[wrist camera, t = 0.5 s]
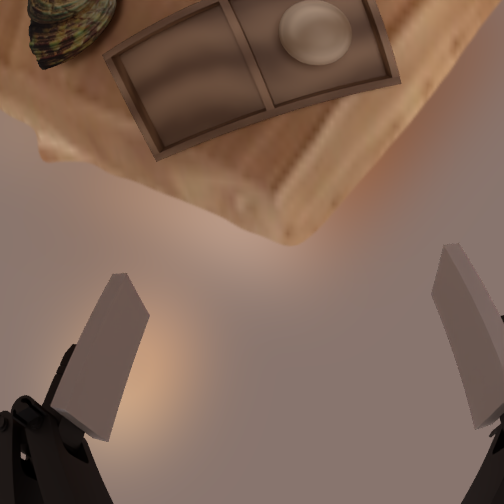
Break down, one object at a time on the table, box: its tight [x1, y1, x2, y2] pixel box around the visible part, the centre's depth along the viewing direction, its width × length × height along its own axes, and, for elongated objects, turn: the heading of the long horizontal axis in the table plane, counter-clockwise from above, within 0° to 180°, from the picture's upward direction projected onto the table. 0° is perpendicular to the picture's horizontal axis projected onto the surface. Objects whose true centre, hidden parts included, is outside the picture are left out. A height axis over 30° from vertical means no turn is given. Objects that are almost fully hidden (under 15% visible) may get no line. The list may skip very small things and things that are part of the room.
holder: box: [102, 0, 401, 162], centre depth 27 cm, size 14×27×3 cm, turn 111°
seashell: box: [27, 0, 116, 70], centre depth 20 cm, size 11×11×10 cm
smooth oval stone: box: [279, 0, 352, 65], centre depth 23 cm, size 7×7×7 cm
